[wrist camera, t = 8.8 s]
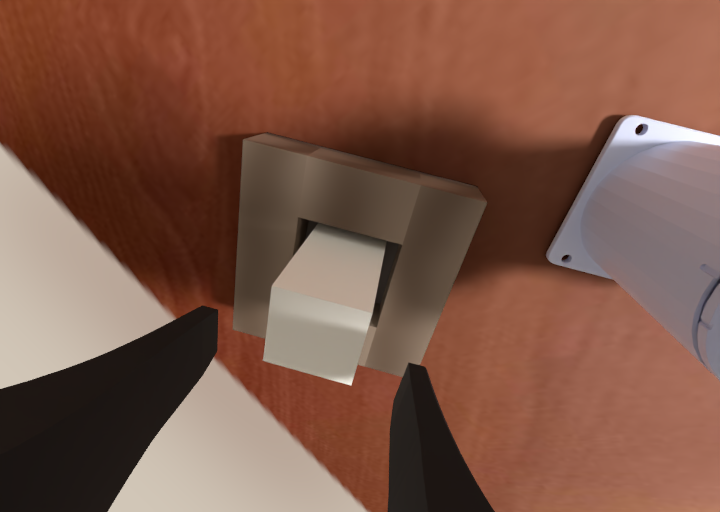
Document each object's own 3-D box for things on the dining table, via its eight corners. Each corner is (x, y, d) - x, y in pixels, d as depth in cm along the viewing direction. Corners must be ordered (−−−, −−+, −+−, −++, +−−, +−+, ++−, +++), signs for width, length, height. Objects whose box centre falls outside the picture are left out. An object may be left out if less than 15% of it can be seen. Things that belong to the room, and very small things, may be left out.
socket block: (477, 186, 18) (487, 202, 16) (413, 347, 24) (413, 379, 21) (267, 132, 19) (243, 139, 16) (252, 303, 24) (232, 329, 22)
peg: (388, 233, 20) (372, 313, 13) (372, 289, 22) (351, 385, 15) (323, 216, 20) (271, 285, 13) (312, 273, 22) (263, 360, 15)
